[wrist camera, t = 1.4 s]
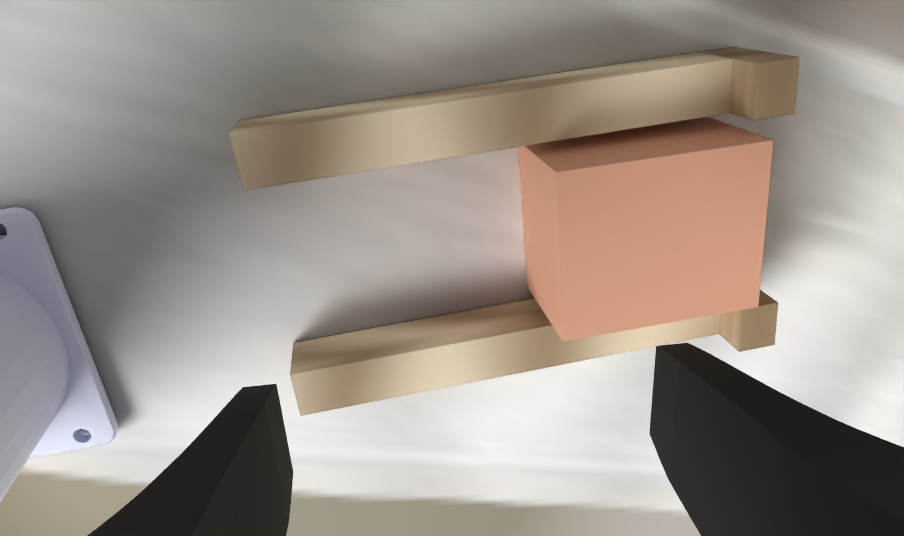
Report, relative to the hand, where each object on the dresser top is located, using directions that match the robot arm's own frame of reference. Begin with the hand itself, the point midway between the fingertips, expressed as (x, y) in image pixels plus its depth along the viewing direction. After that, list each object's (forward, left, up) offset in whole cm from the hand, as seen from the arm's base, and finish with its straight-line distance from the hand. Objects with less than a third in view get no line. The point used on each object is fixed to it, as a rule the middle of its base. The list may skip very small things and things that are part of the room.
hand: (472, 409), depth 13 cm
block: (+7, 0, -10) cm, 12 cm away
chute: (+3, 0, -10) cm, 10 cm away
